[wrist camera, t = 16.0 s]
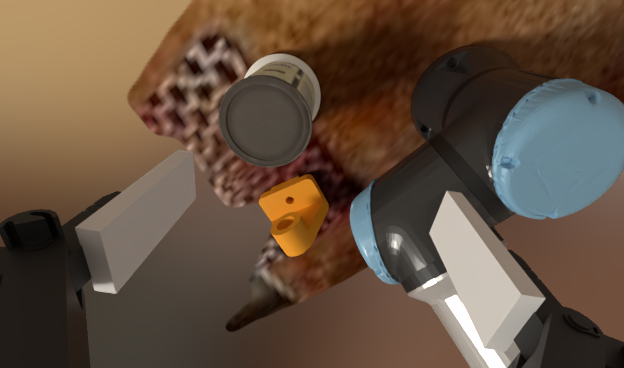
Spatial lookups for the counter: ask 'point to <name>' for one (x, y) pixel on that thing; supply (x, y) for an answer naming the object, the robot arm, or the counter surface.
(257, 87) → the coffee can
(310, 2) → the counter surface
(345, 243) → the counter surface
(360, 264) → the counter surface
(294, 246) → the bracket
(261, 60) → the plate
